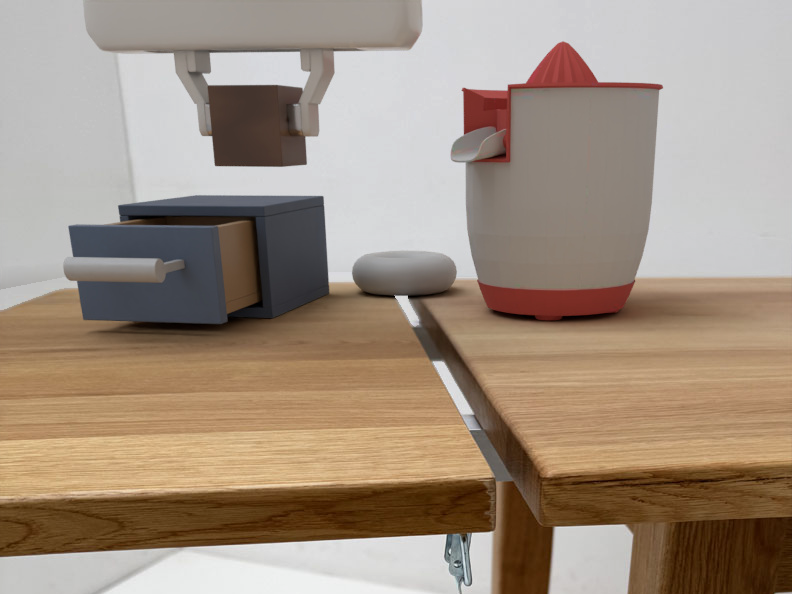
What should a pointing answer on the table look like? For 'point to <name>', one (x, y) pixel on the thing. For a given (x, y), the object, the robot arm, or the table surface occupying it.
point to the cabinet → (265, 242)
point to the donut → (404, 273)
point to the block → (254, 126)
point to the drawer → (166, 268)
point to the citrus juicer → (558, 188)
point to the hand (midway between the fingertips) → (260, 136)
